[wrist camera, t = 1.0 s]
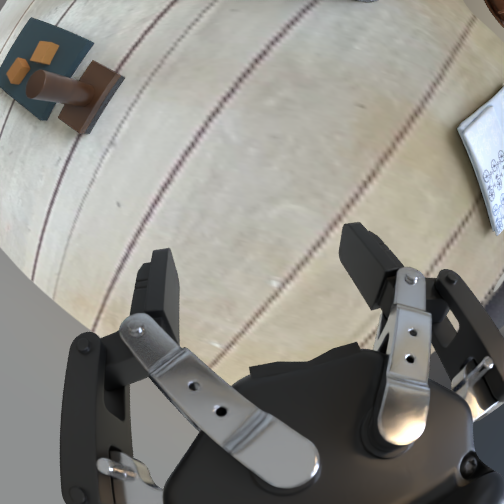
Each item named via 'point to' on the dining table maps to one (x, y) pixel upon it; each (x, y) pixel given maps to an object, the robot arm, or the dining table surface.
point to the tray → (62, 63)
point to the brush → (76, 94)
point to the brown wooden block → (44, 52)
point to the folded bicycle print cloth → (488, 154)
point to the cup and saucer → (496, 9)
